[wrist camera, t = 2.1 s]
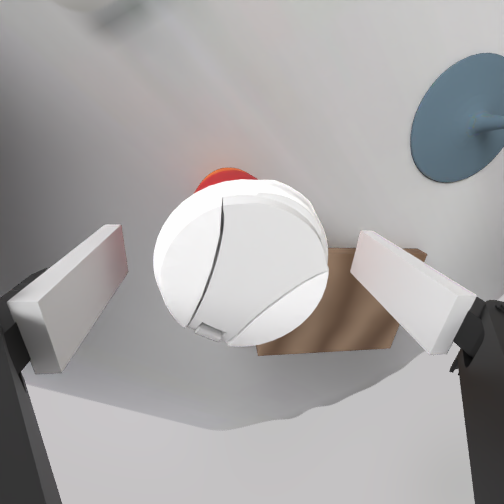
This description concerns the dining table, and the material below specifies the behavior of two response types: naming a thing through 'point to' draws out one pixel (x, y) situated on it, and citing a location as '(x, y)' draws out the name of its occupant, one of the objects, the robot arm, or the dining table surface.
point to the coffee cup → (242, 259)
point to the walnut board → (341, 315)
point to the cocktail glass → (461, 119)
